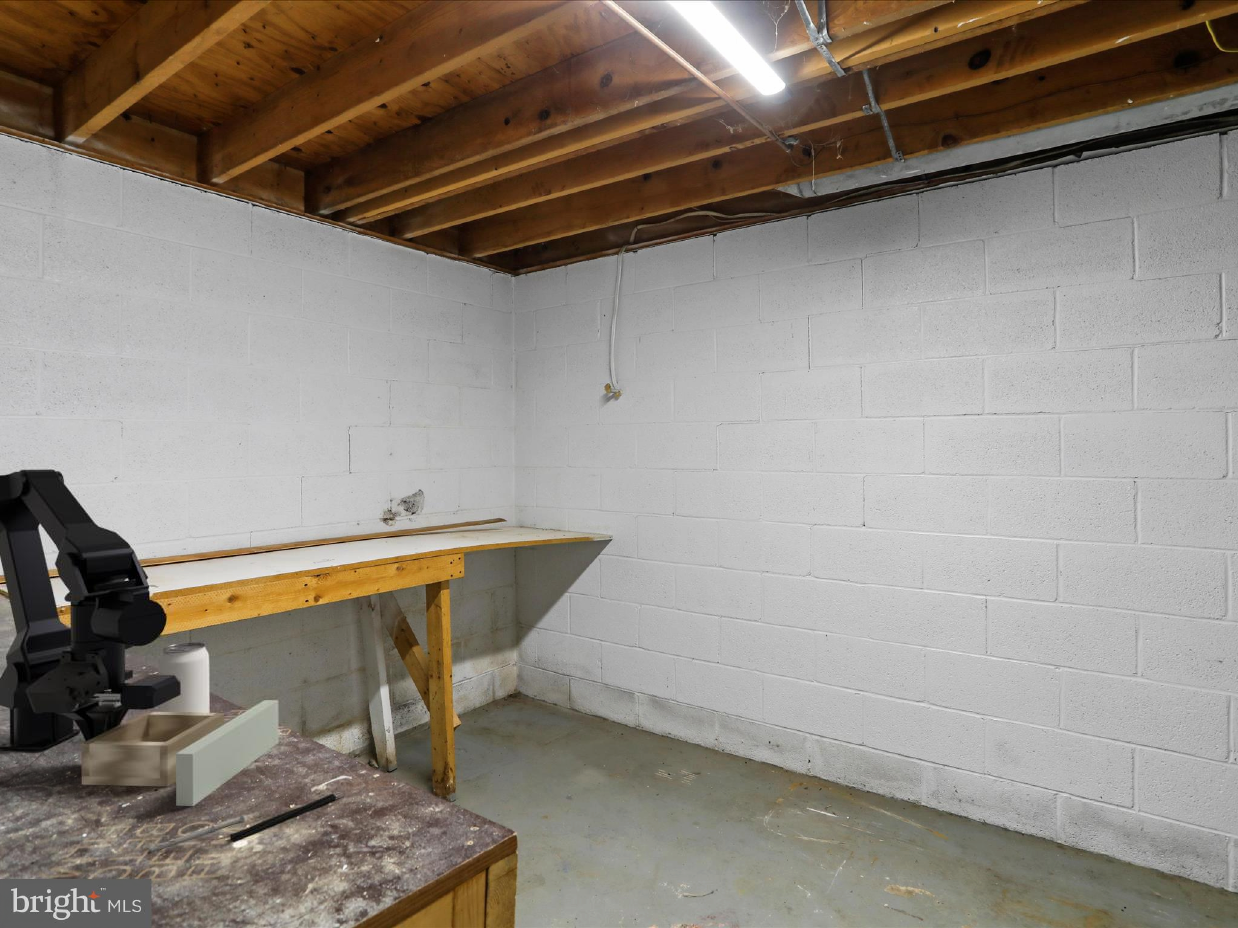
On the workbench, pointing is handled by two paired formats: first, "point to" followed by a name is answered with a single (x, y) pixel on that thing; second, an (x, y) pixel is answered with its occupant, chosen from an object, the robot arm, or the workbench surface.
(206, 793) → the panel
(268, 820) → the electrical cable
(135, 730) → the wooden drawer box
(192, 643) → the can
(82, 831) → the workbench surface
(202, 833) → the grey thin rod
